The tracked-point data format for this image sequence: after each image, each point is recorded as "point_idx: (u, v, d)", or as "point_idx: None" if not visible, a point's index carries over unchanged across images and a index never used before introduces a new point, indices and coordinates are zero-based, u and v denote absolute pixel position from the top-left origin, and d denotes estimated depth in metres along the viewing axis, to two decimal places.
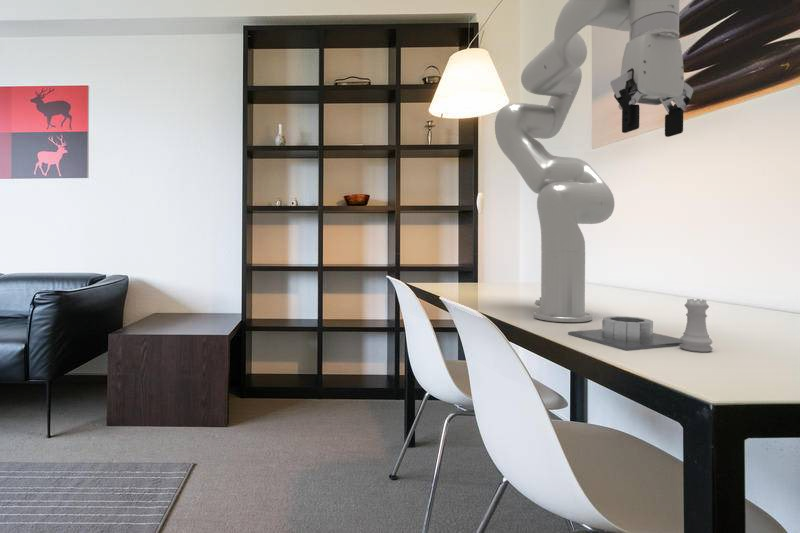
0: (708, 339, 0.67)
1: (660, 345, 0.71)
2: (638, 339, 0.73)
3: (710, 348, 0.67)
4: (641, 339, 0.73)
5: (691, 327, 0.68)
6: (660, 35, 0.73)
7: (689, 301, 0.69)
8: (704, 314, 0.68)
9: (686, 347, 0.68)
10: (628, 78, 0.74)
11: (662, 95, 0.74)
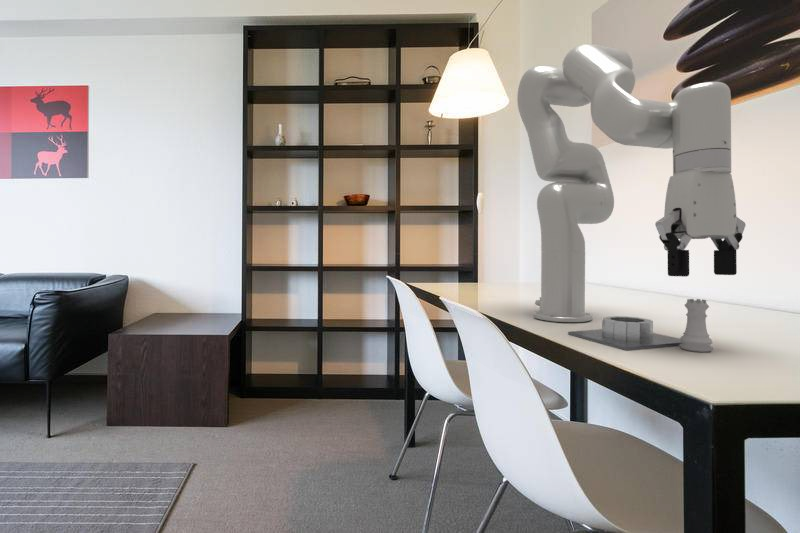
0: (708, 339, 0.67)
1: (660, 345, 0.71)
2: (638, 339, 0.73)
3: (710, 348, 0.67)
4: (641, 339, 0.73)
5: (691, 327, 0.68)
6: (710, 172, 0.65)
7: (689, 301, 0.69)
8: (704, 314, 0.68)
9: (686, 347, 0.68)
10: (675, 219, 0.65)
11: (713, 236, 0.66)
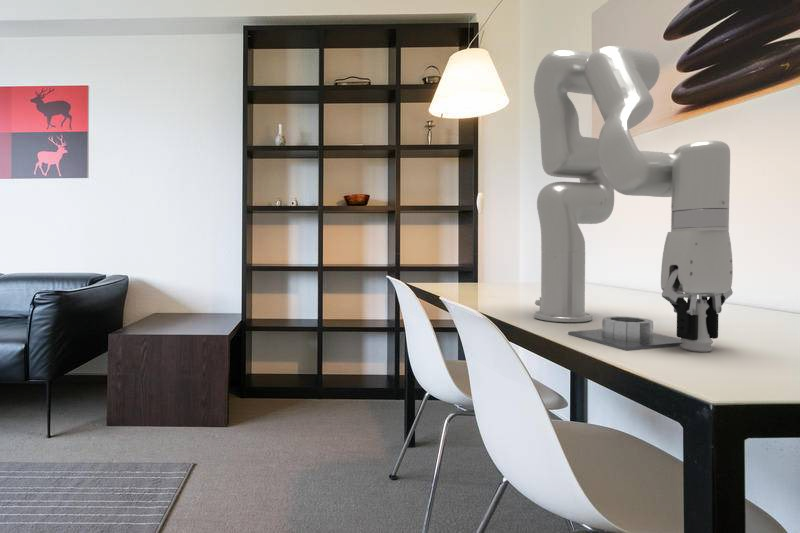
0: (708, 339, 0.67)
1: (660, 345, 0.71)
2: (638, 339, 0.73)
3: (710, 348, 0.67)
4: (641, 339, 0.73)
5: None
6: (708, 231, 0.66)
7: None
8: (704, 314, 0.68)
9: (686, 347, 0.68)
10: (678, 284, 0.67)
11: (709, 293, 0.67)
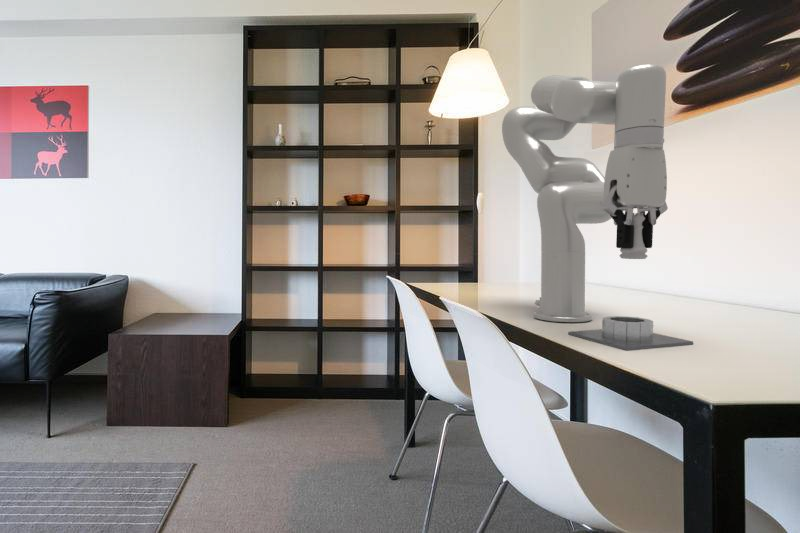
0: (643, 247, 0.75)
1: (660, 345, 0.71)
2: (638, 339, 0.73)
3: (644, 255, 0.75)
4: (641, 339, 0.73)
5: None
6: (644, 148, 0.72)
7: None
8: (640, 225, 0.75)
9: (624, 255, 0.76)
10: (617, 196, 0.74)
11: (644, 206, 0.74)
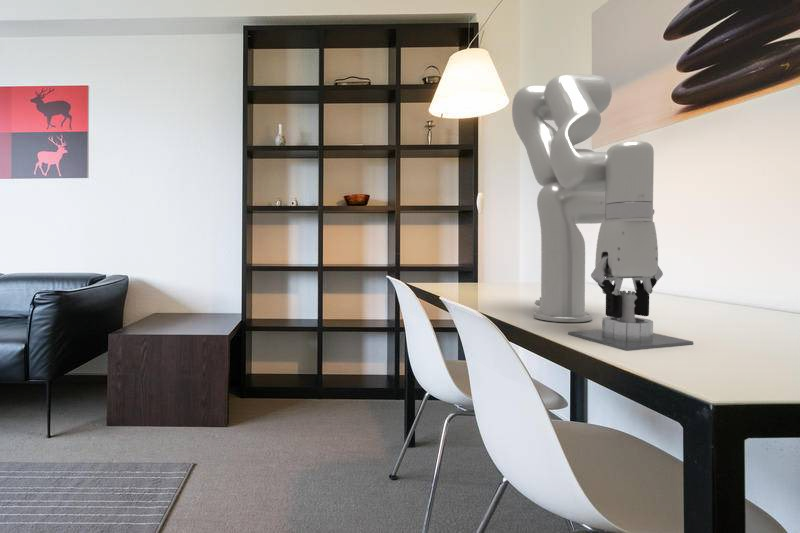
0: None
1: (660, 345, 0.71)
2: (638, 339, 0.73)
3: None
4: (641, 339, 0.73)
5: None
6: (634, 222, 0.74)
7: (620, 292, 0.77)
8: (632, 304, 0.76)
9: None
10: (606, 267, 0.75)
11: (636, 277, 0.75)
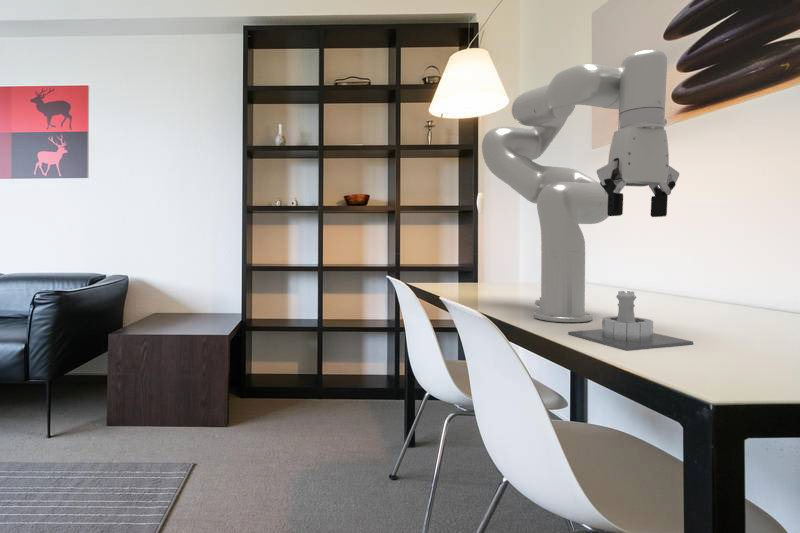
0: None
1: (660, 345, 0.71)
2: (638, 339, 0.73)
3: None
4: (641, 339, 0.73)
5: (621, 316, 0.77)
6: (645, 128, 0.77)
7: (619, 293, 0.77)
8: (632, 304, 0.76)
9: None
10: (613, 168, 0.79)
11: (646, 183, 0.79)
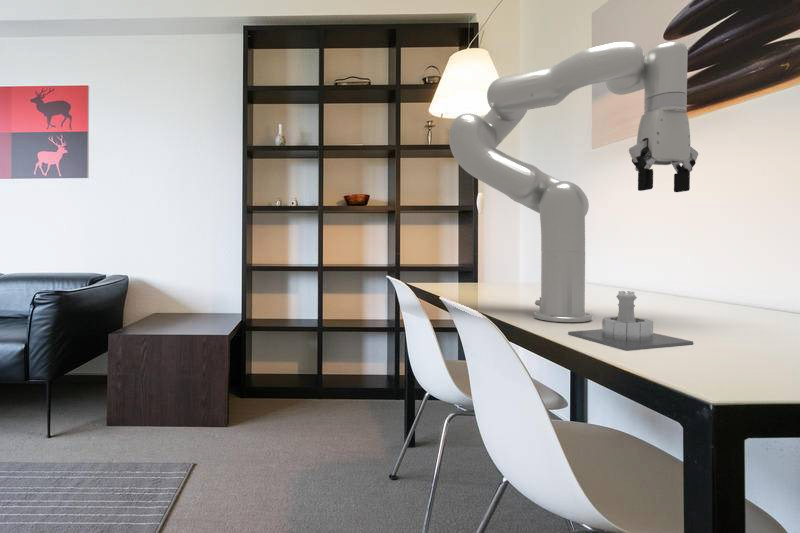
0: None
1: (660, 345, 0.71)
2: (638, 339, 0.73)
3: None
4: (641, 339, 0.73)
5: (621, 316, 0.77)
6: (670, 111, 0.87)
7: (619, 293, 0.77)
8: (632, 304, 0.76)
9: None
10: (644, 146, 0.88)
11: (672, 160, 0.88)
